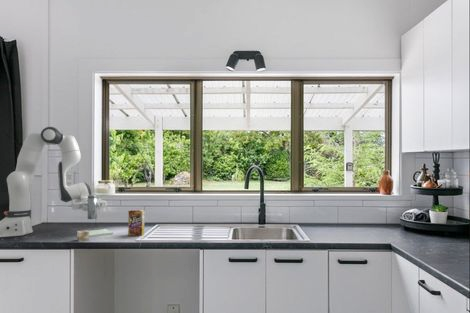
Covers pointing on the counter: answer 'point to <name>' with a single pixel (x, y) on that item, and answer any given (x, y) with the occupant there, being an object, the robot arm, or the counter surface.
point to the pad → (99, 232)
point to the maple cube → (83, 235)
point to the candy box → (136, 222)
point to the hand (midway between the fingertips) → (92, 206)
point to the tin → (92, 206)
